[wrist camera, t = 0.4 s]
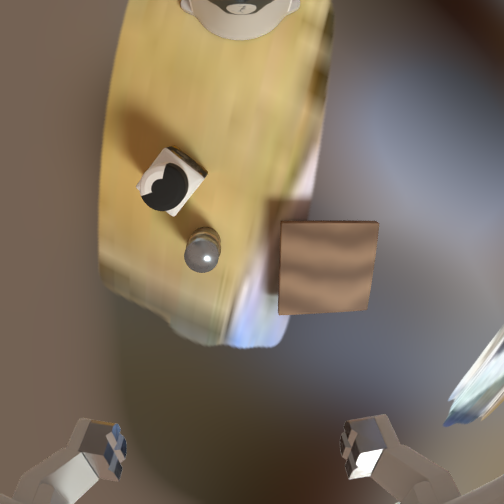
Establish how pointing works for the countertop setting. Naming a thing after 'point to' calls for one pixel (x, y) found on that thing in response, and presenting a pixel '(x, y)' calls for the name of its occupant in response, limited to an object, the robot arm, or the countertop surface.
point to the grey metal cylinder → (203, 250)
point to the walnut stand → (326, 266)
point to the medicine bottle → (170, 181)
